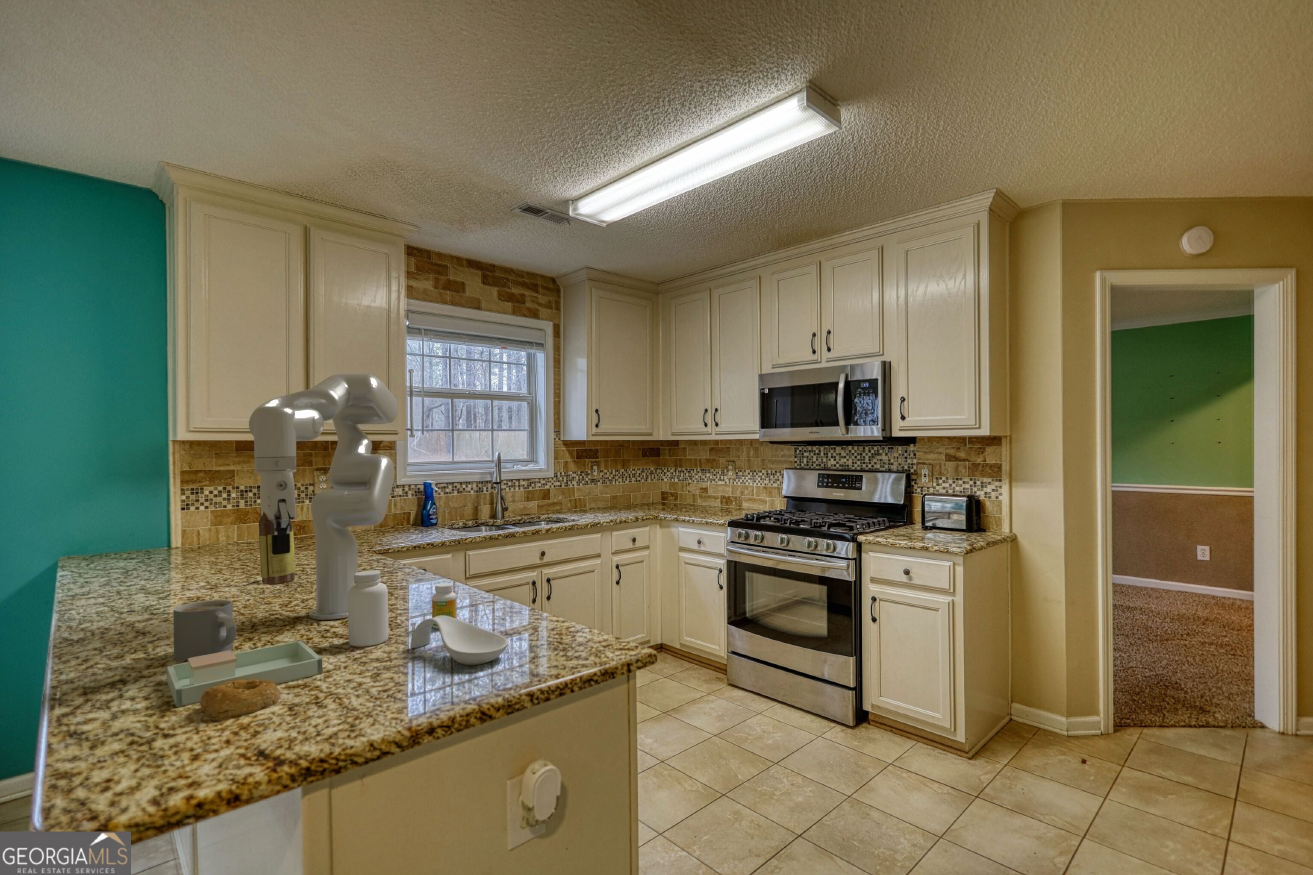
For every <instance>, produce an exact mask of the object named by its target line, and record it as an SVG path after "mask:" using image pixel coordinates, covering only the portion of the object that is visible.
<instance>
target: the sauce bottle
mask: <svg viewBox="0 0 1313 875" xmlns="http://www.w3.org/2000/svg"><path fill="white" fill-rule="evenodd" d="M288 517H289V516H288ZM259 518H260V519H259V521H258V531H259V532H258V533H259V534H258V543H259V546H258V547H259V562H260V563H259V564H260V577H261V583H262V584H263V585H268V586H275V585H276V586H277V585H283V584H288V583H291V582H293V581H295V580H296V572H297V571H296V555H295V553H296V552H295V538H294V525H293V523H292V519H289V529H290V553H286V554H278V555H273V554H272V535H274V534H273V525H272V521H270V520H268V518H267V516H266V514H265V513H264V512H263V515H261V517H259ZM275 519H280V517H276V518H275ZM276 524H278V523H276ZM277 526H278V525H277Z"/></svg>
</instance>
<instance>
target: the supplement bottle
mask: <svg viewBox="0 0 1313 875" xmlns="http://www.w3.org/2000/svg"><path fill="white" fill-rule="evenodd" d="M453 590H454V584H453V583H452V582H441V583H436V584H435V585H434V592H435V593H434V594H432V597H431V618H434V617H436V616H441V615H444V616H449V617H453V618H456V619H457V594H456V593H455V592H454V591H453ZM432 627H433V628H434V629H438V630H439V627H438V625H437V624H435V623H434V624H433V625H432Z"/></svg>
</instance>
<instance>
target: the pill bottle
mask: <svg viewBox="0 0 1313 875" xmlns="http://www.w3.org/2000/svg"><path fill="white" fill-rule="evenodd" d="M381 577H382V576H381V571H380V570H377V569H376V570H364V571H358V573H355V574H354V581H355V582H354V583H355V584H356V585H355V586H353V587H351V588H350V589H349V591H348V617H347V618H348V619H347V623H348V624H347V626H348V629H347V630H348V632H347V633H348V644H349V645H350V646H352V647H360V648H361V647H362V648H364V647H371V646H376V645H379V644H382V643H385V642H387V640H388V638H389V594H388V592H389V589H388V586H387V585H386V584H385V583H383V582H381V581H382V579H381Z"/></svg>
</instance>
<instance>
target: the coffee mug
mask: <svg viewBox="0 0 1313 875" xmlns="http://www.w3.org/2000/svg"><path fill="white" fill-rule="evenodd" d="M233 605H234V604H233V601H232V600H230V599H229V600H228V599H211V600H200V601H194V602H190V603H186V604H182V605H179V606H176V607H174V609H173V661H175V662H183V661H188V658H192V657H197V656H202V655H208V654H213V653H218V652H223V651H229V650H231V651H232V652H233V650H234V641H235V640H236V637H237V625H236V622H235V619H234V614H233V612H234V611H233V610H234V609H233V608H234V607H233Z"/></svg>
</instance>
